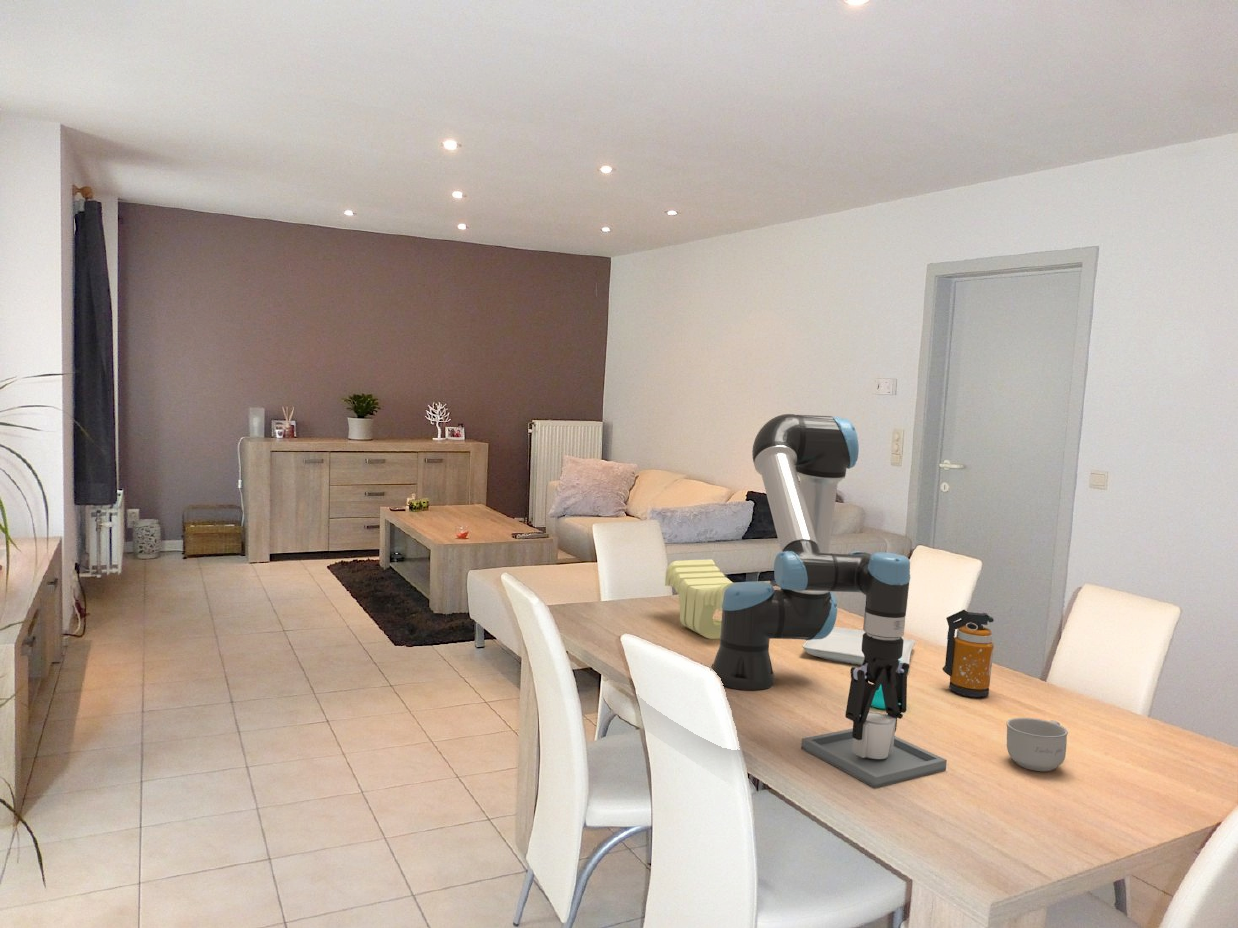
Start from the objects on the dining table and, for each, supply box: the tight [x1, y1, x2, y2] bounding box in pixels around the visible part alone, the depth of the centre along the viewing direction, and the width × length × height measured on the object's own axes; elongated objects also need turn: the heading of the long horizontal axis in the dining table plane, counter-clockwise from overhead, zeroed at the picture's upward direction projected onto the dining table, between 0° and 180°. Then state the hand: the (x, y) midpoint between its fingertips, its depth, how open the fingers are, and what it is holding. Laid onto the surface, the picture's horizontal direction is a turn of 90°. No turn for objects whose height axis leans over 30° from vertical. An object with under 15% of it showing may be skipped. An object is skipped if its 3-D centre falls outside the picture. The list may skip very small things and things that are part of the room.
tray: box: [800, 727, 948, 789], centre depth 173 cm, size 19×19×2 cm
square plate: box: [802, 626, 916, 666], centre depth 245 cm, size 27×27×4 cm
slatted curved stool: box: [664, 558, 771, 640], centre depth 258 cm, size 30×16×18 cm, turn 26°
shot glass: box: [860, 711, 894, 759], centre depth 173 cm, size 7×7×7 cm
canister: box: [941, 609, 995, 698], centre depth 217 cm, size 9×11×20 cm
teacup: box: [1006, 717, 1069, 772], centre depth 176 cm, size 14×11×8 cm
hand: (872, 751), depth 173 cm, fingers closed on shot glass, 7 cm apart
